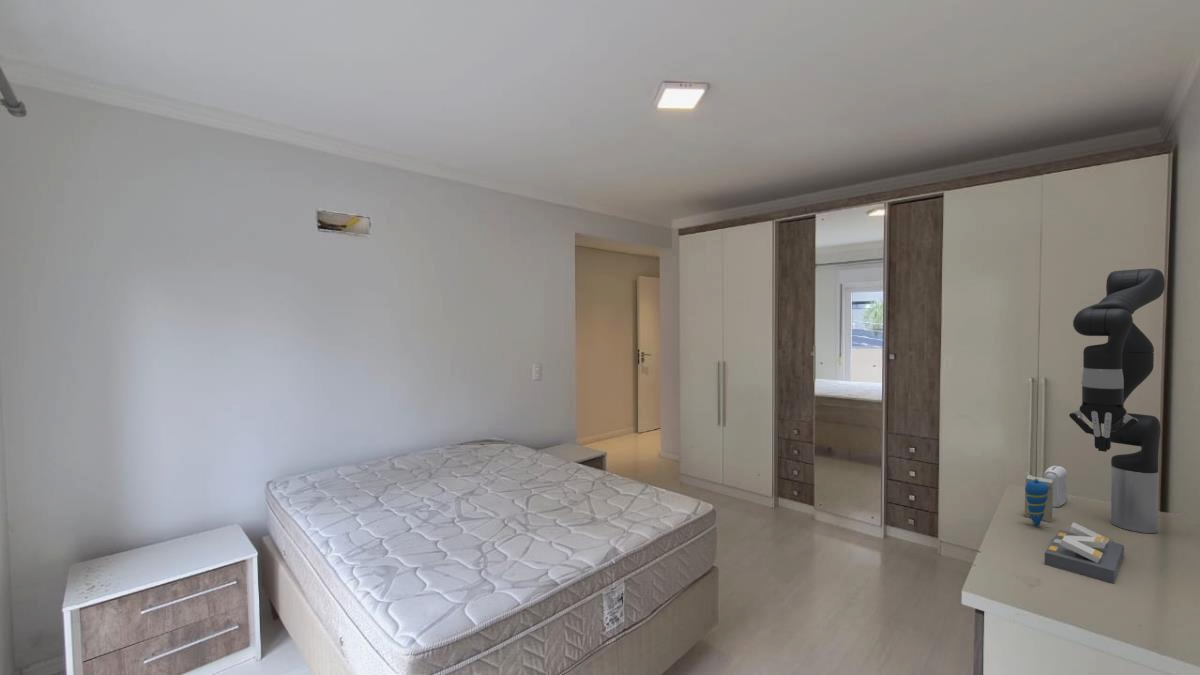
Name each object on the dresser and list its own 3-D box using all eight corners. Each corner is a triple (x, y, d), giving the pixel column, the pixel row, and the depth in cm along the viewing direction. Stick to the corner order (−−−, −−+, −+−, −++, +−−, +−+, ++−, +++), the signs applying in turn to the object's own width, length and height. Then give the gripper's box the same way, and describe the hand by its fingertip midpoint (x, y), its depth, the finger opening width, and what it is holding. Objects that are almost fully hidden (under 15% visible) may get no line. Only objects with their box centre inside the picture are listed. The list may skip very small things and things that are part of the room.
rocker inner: (1071, 526, 130) (1073, 521, 130) (1106, 543, 125) (1109, 538, 125) (1068, 530, 128) (1071, 525, 127) (1104, 548, 123) (1107, 543, 122)
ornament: (1048, 526, 143) (1048, 476, 142) (1048, 532, 139) (1048, 480, 138) (1025, 521, 146) (1025, 472, 146) (1024, 527, 142) (1024, 476, 142)
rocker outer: (1062, 539, 123) (1065, 534, 122) (1100, 557, 118) (1102, 552, 117) (1059, 544, 120) (1062, 539, 120) (1097, 563, 115) (1100, 557, 115)
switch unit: (1059, 540, 133) (1059, 527, 133) (1123, 556, 124) (1123, 542, 124) (1044, 564, 121) (1044, 549, 121) (1114, 583, 112) (1114, 567, 112)
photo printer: (1051, 498, 164) (1051, 462, 164) (1068, 501, 161) (1068, 465, 161) (1041, 504, 159) (1041, 467, 158) (1059, 508, 155) (1059, 470, 155)
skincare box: (1024, 516, 150) (1024, 478, 149) (1026, 512, 153) (1026, 474, 152) (1052, 522, 145) (1052, 482, 145) (1053, 518, 148) (1053, 479, 148)
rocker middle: (1068, 540, 126) (1066, 534, 127) (1106, 543, 121) (1103, 536, 121) (1065, 545, 124) (1063, 539, 124) (1103, 548, 118) (1101, 541, 119)
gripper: (1141, 385, 123) (1141, 452, 124) (1069, 381, 133) (1070, 443, 134) (1139, 389, 118) (1138, 459, 119) (1064, 385, 129) (1065, 449, 129)
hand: (1102, 450), depth 127 cm, fingers closed
